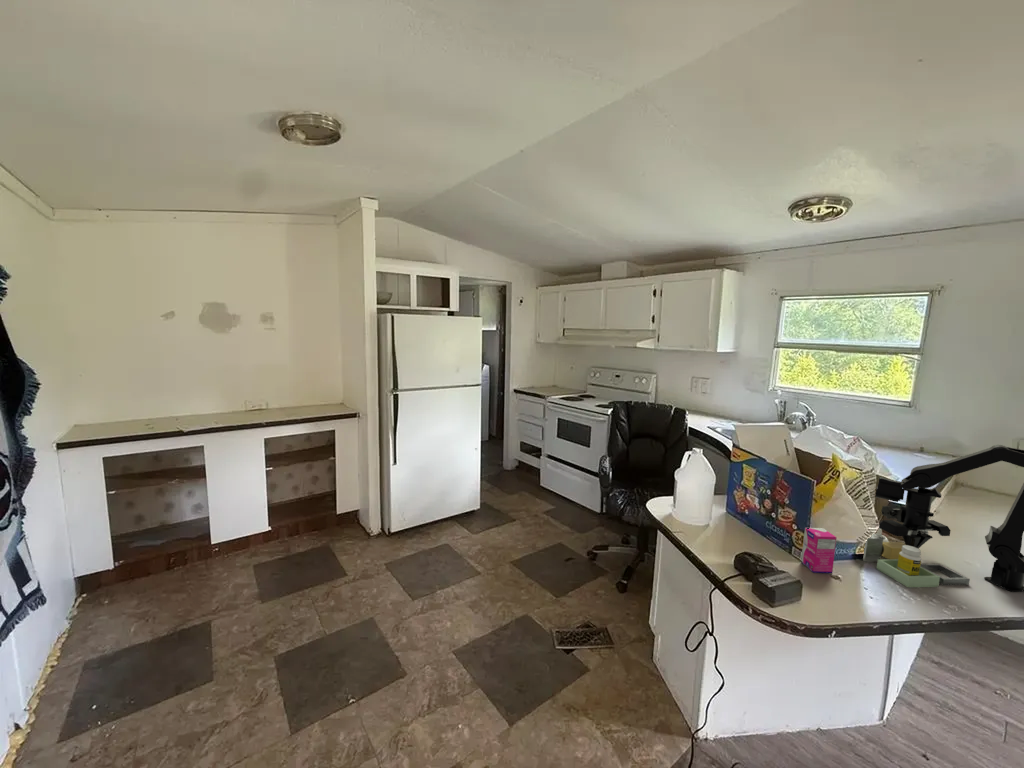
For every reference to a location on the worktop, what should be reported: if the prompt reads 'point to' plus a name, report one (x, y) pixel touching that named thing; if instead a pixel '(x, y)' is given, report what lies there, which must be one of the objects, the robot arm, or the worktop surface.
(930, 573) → the tray
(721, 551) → the worktop surface
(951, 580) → the pin socket
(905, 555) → the supplement bottle
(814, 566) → the supplement box
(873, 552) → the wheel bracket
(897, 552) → the block
